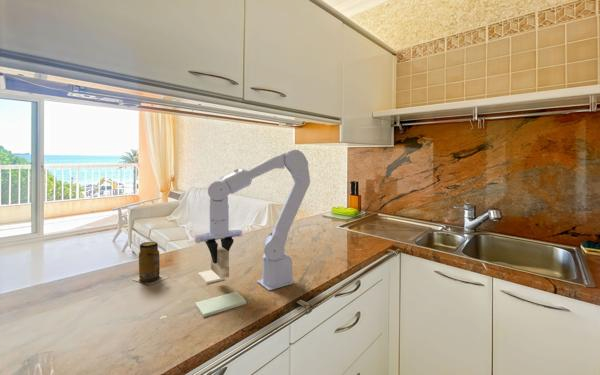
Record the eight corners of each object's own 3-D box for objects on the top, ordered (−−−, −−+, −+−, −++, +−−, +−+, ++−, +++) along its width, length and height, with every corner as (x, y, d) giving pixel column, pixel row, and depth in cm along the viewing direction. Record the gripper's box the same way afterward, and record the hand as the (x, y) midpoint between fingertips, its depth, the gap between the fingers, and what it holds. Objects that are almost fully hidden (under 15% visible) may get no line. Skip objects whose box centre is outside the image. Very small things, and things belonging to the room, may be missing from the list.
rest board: (236, 294, 83) (236, 291, 83) (246, 303, 78) (246, 301, 78) (195, 305, 76) (195, 302, 76) (203, 317, 71) (203, 314, 71)
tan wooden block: (218, 267, 93) (218, 244, 92) (229, 276, 86) (228, 251, 85) (211, 269, 91) (210, 245, 91) (221, 278, 84) (220, 252, 83)
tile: (224, 281, 94) (215, 272, 101) (224, 277, 94) (215, 269, 101) (206, 285, 90) (198, 275, 97) (206, 281, 90) (198, 272, 97)
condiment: (152, 272, 98) (151, 239, 97) (169, 277, 94) (168, 243, 93) (132, 280, 92) (131, 244, 91) (148, 285, 88) (147, 248, 87)
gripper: (235, 215, 95) (235, 253, 96) (191, 219, 86) (192, 262, 87) (244, 218, 89) (244, 259, 90) (198, 223, 80) (199, 269, 82)
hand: (219, 261), depth 88 cm, fingers closed on tan wooden block, 2 cm apart
